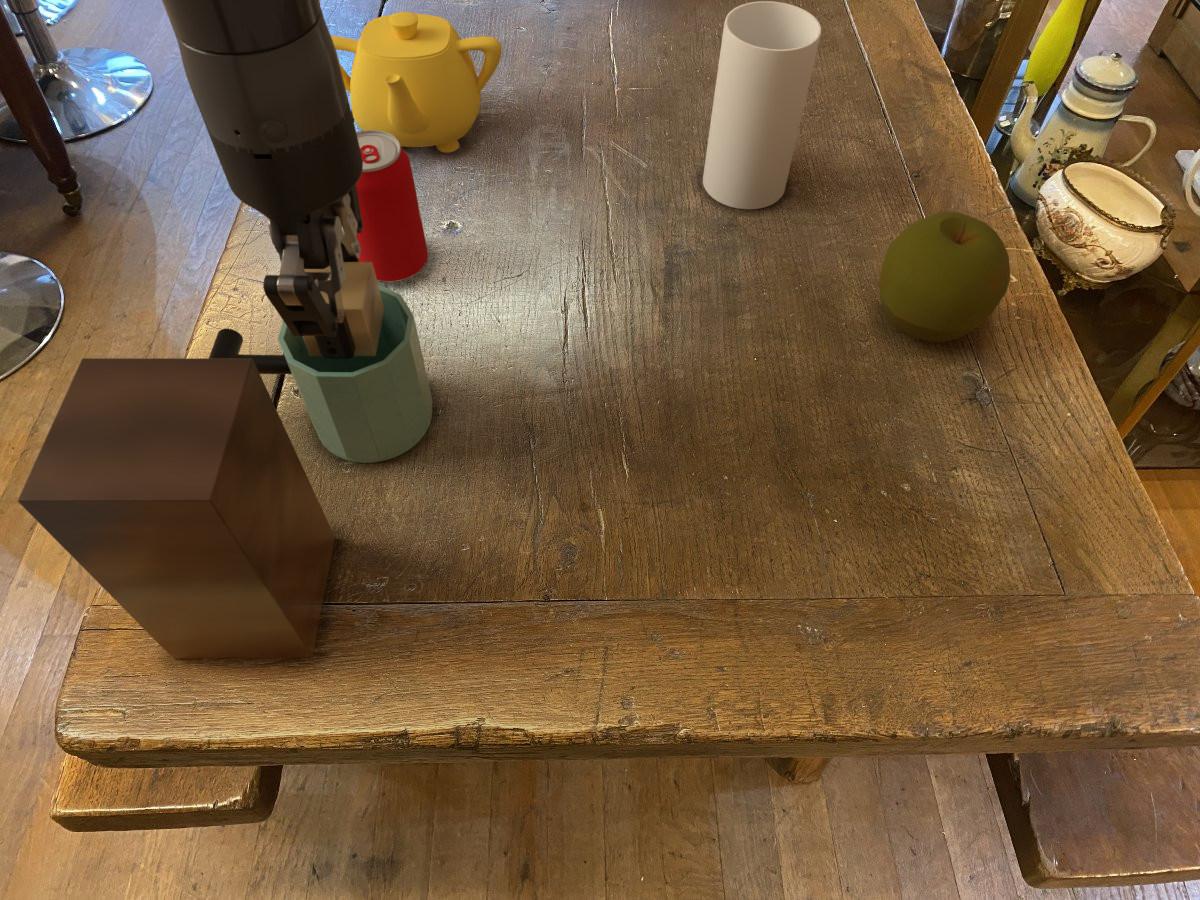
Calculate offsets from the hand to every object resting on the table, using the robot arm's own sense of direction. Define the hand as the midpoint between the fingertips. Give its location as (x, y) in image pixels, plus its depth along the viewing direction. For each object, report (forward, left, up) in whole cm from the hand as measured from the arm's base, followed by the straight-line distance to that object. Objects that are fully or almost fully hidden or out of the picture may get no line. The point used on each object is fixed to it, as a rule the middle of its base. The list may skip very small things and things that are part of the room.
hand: (346, 326), depth 59 cm
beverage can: (+12, +13, -10) cm, 20 cm away
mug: (-2, +2, -10) cm, 11 cm away
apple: (+40, -25, -10) cm, 48 cm away
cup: (+44, -2, -10) cm, 45 cm away
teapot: (+25, +26, -10) cm, 38 cm away
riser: (-15, -7, -10) cm, 19 cm away
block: (0, 0, -1) cm, 1 cm away
